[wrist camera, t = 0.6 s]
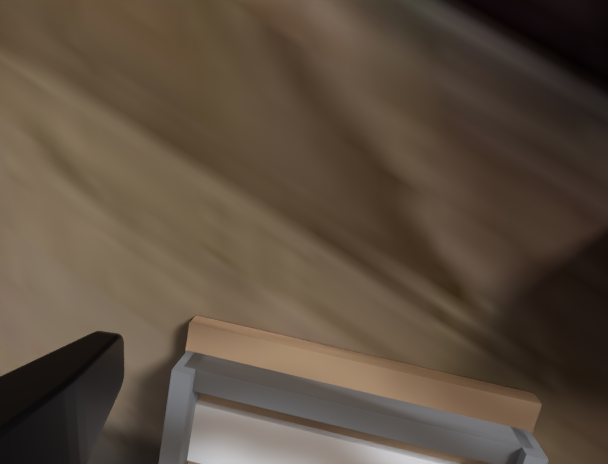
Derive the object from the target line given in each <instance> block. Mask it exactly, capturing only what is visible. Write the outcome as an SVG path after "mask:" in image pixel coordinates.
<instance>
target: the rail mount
mask: <svg viewBox="0 0 608 464" xmlns="http://www.w3.org/2000/svg"><path fill="white" fill-rule="evenodd" d="M541 406H542V404H541V402H540V401H539V400H538V398H537V397H536V396H535V394H534V393H531V392H527V391H523V390H518V389H514V388H510V387H505V386H501V385H497V384H492V383H488V382H484V381H479V380H475V379H470V378H466V377H462V376H457V375H453V374H449V373H444V372H440V371H436V370H431V369H427V368H423V367H418V366H414V365H410V364H405V363H401V362H397V361H392V360H388V359H384V358H379V357H375V356H371V355H366V354H362V353H358V352H353V351H349V350H345V349H340V348H336V347H332V346H327V345H323V344H319V343H314V342H310V341H306V340H301V339H297V338H293V337H288V336H284V335H280V334H275V333H271V332H267V331H262V330H258V329H253V328H249V327H245V326H240V325H236V324H232V323H227V322H223V321H219V320H214V319H210V318H206V317H201V316H197V315H196V316H195V317H194V318H193V319H192V320H191V322H190V323H189V329H188V336H187V343H186V349H185V354H184V355H183V356H182V357H181V359H180V360H179V361H178V362H177V364H176V365H175V366H174V368H173V369H172V371H171V378H170V386H169V393H168V400H167V407H166V414H165V421H164V428H163V435H162V442H161V449H160V456H159V464H547V463H548V461H549V460H548V458H547V457H546V455H545V453H544V452H543V450H542V449H541V447H540V446H539V444H538V442H537V441H536V439H535V438H534V436H533V434H532V432H533V429H534V426H535V423H536V421H537V418H538V415H539V412H540V409H541Z"/></svg>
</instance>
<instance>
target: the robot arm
mask: <svg viewBox="0 0 608 464" xmlns="http://www.w3.org/2000/svg"><path fill="white" fill-rule="evenodd" d="M123 379H124V341H123V337H122V336H121V335H120V334H117V333H110V332H103V331H96V332H94V333H91V334H89V335H87V336H85V337H83V338H81V339H79V340H77V341H74V342H72V343H70V344H68V345H66V346H64V347H62V348H60V349H57V350H55V351H53V352H51V353H49V354H47V355H45V356H43V357H41V358H38V359H36V360H34V361H32V362H30V363H28V364H26V365H24V366H22V367H19V368H17V369H15V370H13V371H11V372H9V373H7V374H5V375H3V376H0V464H87V462H88V460H89V458H90V456H91V453H92V451H93V449H94V447H95V444H96V442H97V440H98V438H99V436H100V433H101V431H102V429H103V427H104V424H105V422H106V420H107V418H108V415H109V413H110V411H111V409H112V407H113V404H114V402H115V400H116V398H117V395H118V393H119V391H120V389H121V386H122V383H123Z"/></svg>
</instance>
